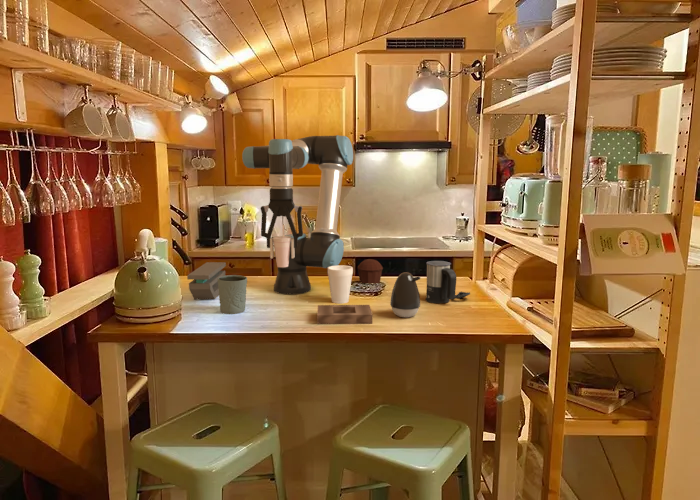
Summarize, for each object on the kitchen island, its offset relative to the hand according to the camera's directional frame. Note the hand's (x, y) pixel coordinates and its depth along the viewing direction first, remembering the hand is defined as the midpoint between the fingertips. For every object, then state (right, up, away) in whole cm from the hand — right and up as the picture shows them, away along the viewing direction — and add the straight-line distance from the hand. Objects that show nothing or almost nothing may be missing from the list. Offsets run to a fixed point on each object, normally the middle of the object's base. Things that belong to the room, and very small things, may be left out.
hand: (282, 257), depth 172 cm
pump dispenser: (+42, -20, +7) cm, 47 cm away
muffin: (+31, -12, +56) cm, 65 cm away
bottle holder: (+20, -21, +3) cm, 29 cm away
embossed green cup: (-19, -19, +12) cm, 30 cm away
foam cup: (+19, -17, +25) cm, 36 cm away
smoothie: (0, -3, +1) cm, 3 cm away
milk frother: (+60, -17, +27) cm, 68 cm away
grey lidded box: (-33, -16, +33) cm, 49 cm away
